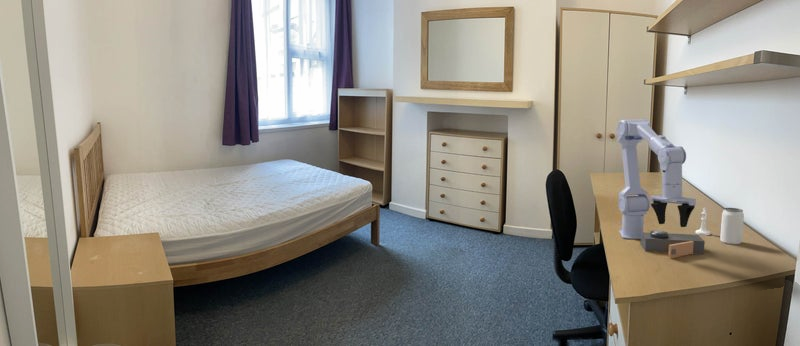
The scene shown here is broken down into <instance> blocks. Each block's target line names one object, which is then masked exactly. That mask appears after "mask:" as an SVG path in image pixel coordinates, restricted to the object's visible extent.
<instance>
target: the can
mask: <svg viewBox="0 0 800 346" xmlns="http://www.w3.org/2000/svg"><path fill="white" fill-rule="evenodd" d="M744 219H745V213H744V210H743V209H741V208H737V207H724V208H723V211H722V213H721V221H720V222H721V225H720V238H719V239H720V242H721V243H724V244H727V245H732V246H733V245H734V246H736V245H737V246H738V245H740V244H741V243H743V242H742V240H743V230H744Z"/></svg>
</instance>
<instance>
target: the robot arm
mask: <svg viewBox="0 0 800 346" xmlns="http://www.w3.org/2000/svg"><path fill="white" fill-rule="evenodd" d="M651 126H652V125H651V122H650V121H649V120H648V119H647V118H642V119H640V118H639V119H621V120H619V122H618V125H617V127H616V133H617V141H618V143H619V144H620V146H621V147H620V148H621V155H622V165H623V166H622V167H623V173H624V174H623V175H624V176H623V177H624V184H625V188H623V189H622V190H621V191H620V192H619V193H618V203H617V205H618V206H617V207H618V209H619V211H620V212H621V213H622V219H621V229H619V230H618V232H619V234H620V236H621V237H622V239H633V240H635V239H636V240H641V232H644V227H645V226H644V225H645V215H647V212H649V210H651V209H650V208H652V209H653V211H654V213H655V214H656V215H655V216H656V218H657V222H658V225H664V224H665V223H666V210H667V206H668V204H673V205H674V204H677V210H678V213H679V225H680V228H685V227H686V228H687V226H688V222H689V219H690V216H691V214H692V212H693V211H694V210H695V207H696V206H695V205H696V204H697V201H696V198H690V197H683V164H685V162H686V160H687V153H686V150H685V149H684V147H683V146H675V145H674V144H673V143H672V142H671V141H669V140H668V139H667V138H666V135H660V134H659V135H658V134H657V133H656V132H655V131H654V130H653V128H652V127H651ZM644 140H645V141H646V142H647V143H648V147H649V148H650V150H651V151H652V152H654V153H655V155H656V156H657V160H658V163H659V169H660V170H661V171H662V172H661V173H662V174H661V175H662V177H661V183H662V184H661V185H662V186H661V188H662V189H661V191H662V192H661V194H662V195H650V198H649V195H648V191H647V190H645V189H644V188H643V187H641V178H640V170H639V169H640V168H639V167H640V166H639V160H638V151H637V150H638V149H637V145H638V144H639V143H641V142H643V141H644ZM678 204H679V205H678Z"/></svg>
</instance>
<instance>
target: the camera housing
mask: <svg viewBox="0 0 800 346" xmlns="http://www.w3.org/2000/svg"><path fill="white" fill-rule="evenodd" d="M700 236H701V235H700V234H688V233H687V234H686V233H685V234H684V233H683V234H682V233H669V232H667V231H664V230H650V232H644V231H643V232H641V239H640V246H641V247H642V249H643V250H644V252H655V253H657V252H658V253H668V252H669V245H672V244H677V243H683V242H689V241H693V242H694V245H693V254H694V255H704V253H705V243H706V242H705V239H703V238H702V237H700ZM693 254H692V255H693Z"/></svg>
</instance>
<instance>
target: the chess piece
mask: <svg viewBox="0 0 800 346" xmlns="http://www.w3.org/2000/svg"><path fill="white" fill-rule="evenodd" d="M706 208H707V207H703V208H702V210H703V211H702V212H701V214H700V215H701V218H700V220H702V221H701V225H700V228H699V229H697V230H695V234H696V235H699V236H710V235H711V231H709V230H708V229H707V225H706V221H707V220H708V218H707V216H708V212H707V211H708V210H707V209H706Z"/></svg>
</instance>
